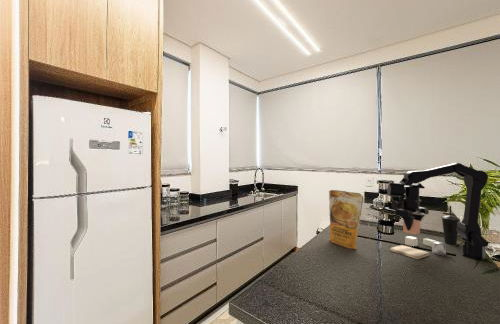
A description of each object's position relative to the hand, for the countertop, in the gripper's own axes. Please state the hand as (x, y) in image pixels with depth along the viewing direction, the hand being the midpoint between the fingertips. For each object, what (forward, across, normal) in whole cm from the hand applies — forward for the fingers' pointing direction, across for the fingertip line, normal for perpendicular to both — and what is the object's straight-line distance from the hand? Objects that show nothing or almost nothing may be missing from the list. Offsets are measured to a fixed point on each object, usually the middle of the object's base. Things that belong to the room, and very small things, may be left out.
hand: (411, 229), depth 113 cm
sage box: (+11, -18, 0) cm, 21 cm away
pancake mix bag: (+11, +21, -22) cm, 33 cm away
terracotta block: (+2, 0, 0) cm, 2 cm away
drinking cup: (+10, -32, +3) cm, 34 cm away
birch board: (+11, +3, +1) cm, 11 cm away
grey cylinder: (+11, -9, +7) cm, 16 cm away
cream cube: (+11, -10, -5) cm, 16 cm away
